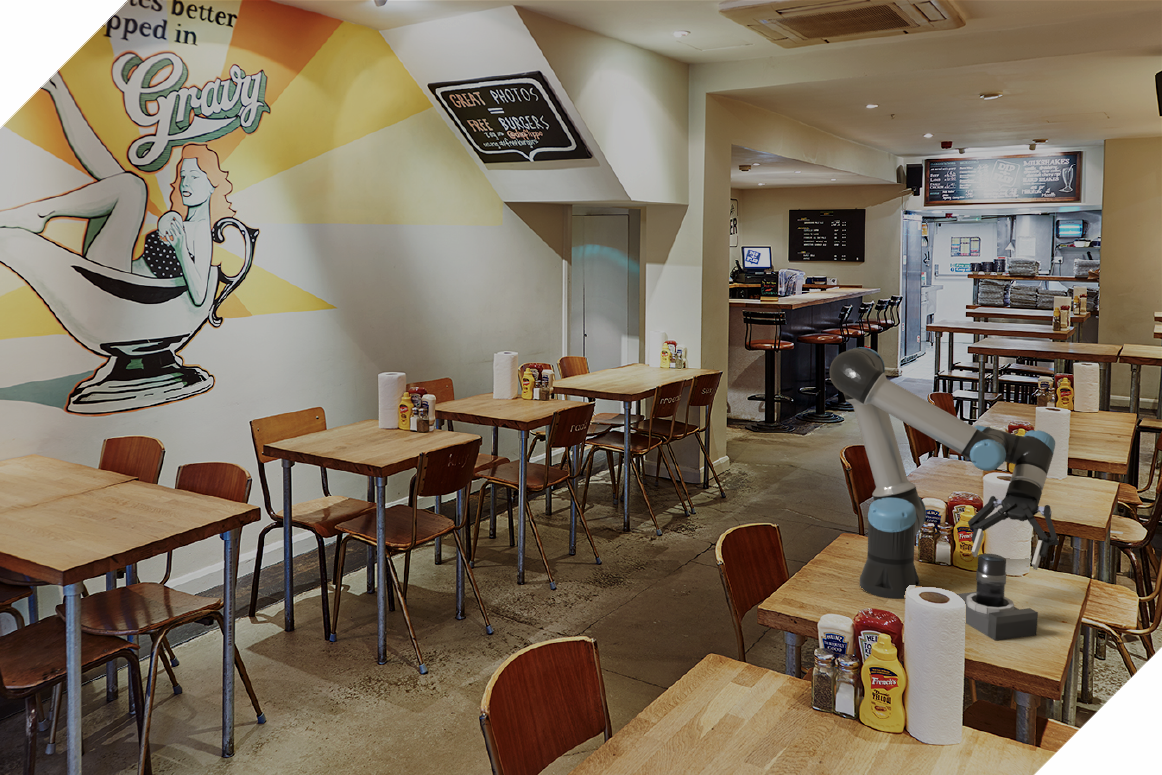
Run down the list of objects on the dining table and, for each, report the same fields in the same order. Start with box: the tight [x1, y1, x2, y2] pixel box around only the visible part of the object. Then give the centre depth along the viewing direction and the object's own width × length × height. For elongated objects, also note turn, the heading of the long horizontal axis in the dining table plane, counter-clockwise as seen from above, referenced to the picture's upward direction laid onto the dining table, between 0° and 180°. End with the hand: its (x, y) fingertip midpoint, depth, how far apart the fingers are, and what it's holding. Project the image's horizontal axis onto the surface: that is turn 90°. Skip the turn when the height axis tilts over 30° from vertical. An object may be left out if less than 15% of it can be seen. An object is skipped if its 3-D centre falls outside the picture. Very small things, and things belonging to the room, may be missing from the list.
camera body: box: [956, 591, 1039, 641], centre depth 204 cm, size 18×11×6 cm, turn 13°
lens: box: [975, 553, 1007, 607], centre depth 203 cm, size 6×6×12 cm
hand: (1003, 560), depth 205 cm, fingers open, 13 cm apart
